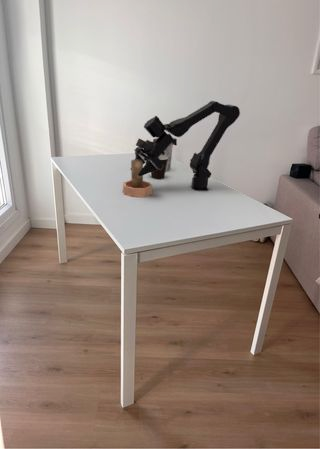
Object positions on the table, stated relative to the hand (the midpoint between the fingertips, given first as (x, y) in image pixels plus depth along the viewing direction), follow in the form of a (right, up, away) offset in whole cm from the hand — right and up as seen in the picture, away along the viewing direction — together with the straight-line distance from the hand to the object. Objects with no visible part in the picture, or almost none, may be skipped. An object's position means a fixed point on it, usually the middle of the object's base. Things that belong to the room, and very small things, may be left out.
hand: (134, 172), depth 134 cm
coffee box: (+11, +8, +40) cm, 42 cm away
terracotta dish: (+1, -8, +4) cm, 9 cm away
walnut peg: (+1, -7, +4) cm, 8 cm away
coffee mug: (+10, +2, +28) cm, 29 cm away
